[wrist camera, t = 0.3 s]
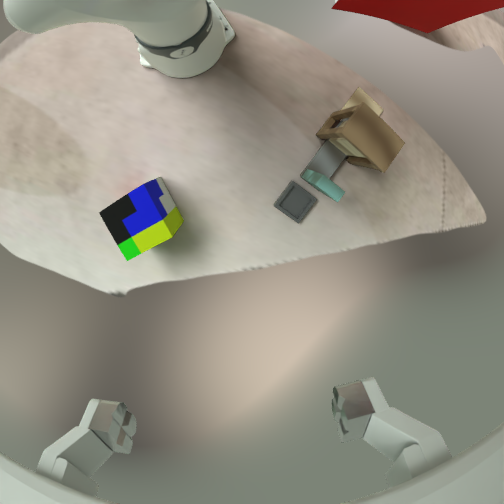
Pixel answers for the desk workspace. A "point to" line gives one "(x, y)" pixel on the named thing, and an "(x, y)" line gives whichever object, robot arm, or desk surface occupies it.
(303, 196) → the tray
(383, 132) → the tunnel
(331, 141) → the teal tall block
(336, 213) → the desk surface
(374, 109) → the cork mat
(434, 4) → the book
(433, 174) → the desk surface
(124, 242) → the puzzle toy
